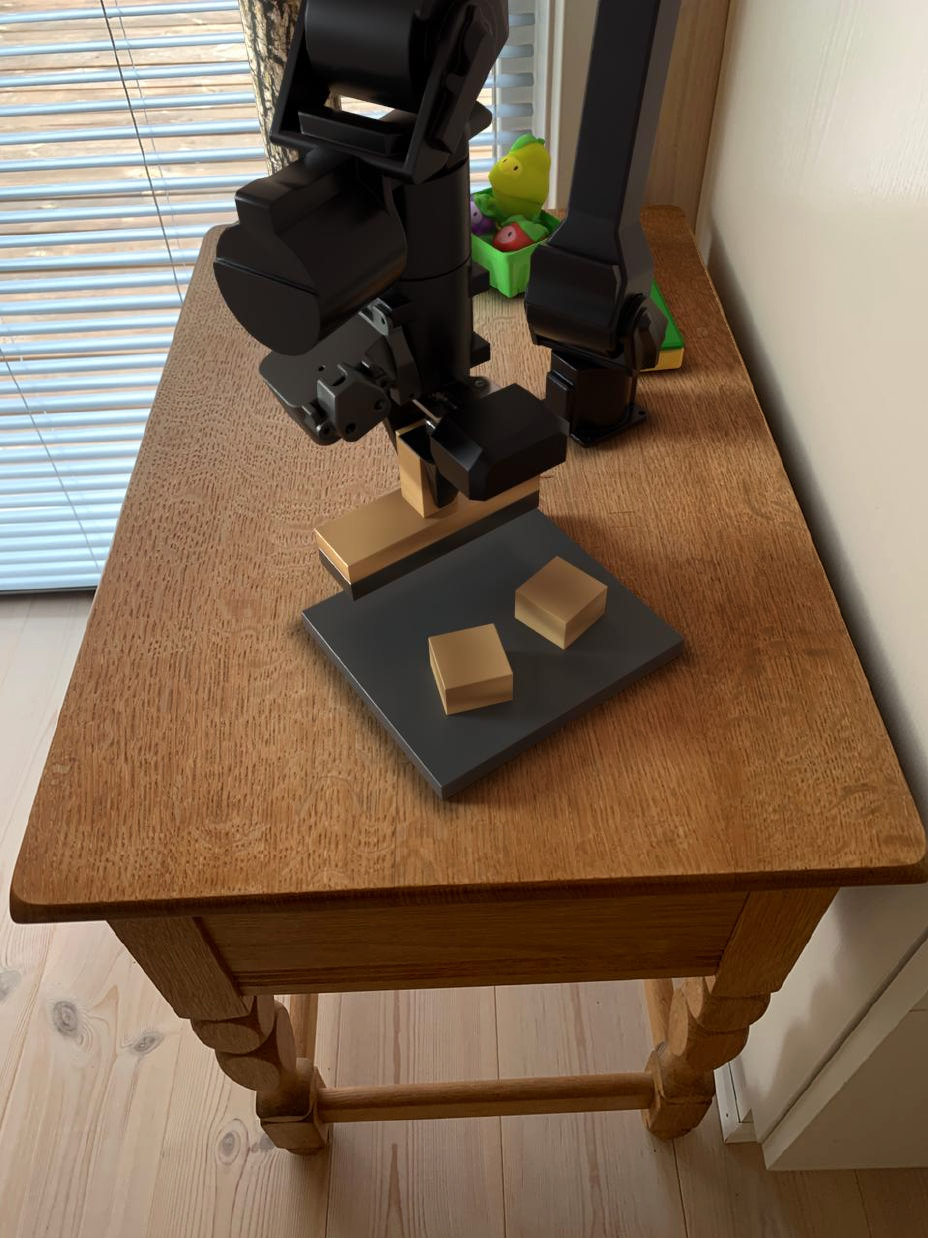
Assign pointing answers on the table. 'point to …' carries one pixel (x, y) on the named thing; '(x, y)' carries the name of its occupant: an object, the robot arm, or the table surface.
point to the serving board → (542, 671)
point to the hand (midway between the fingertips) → (430, 492)
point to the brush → (410, 527)
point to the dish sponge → (668, 336)
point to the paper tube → (271, 65)
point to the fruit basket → (513, 215)
